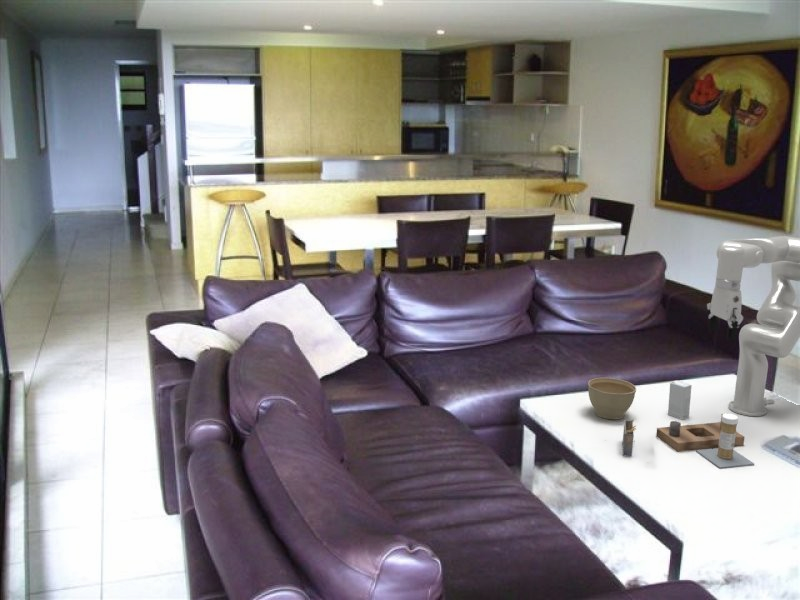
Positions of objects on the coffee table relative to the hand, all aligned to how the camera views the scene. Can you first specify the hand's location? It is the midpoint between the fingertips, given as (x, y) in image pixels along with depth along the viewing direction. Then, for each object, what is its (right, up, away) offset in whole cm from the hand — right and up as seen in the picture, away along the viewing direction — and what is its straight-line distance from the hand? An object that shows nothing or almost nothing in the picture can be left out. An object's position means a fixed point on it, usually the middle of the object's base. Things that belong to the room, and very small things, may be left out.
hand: (721, 334), depth 260 cm
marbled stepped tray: (-34, -36, -10) cm, 51 cm away
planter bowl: (-33, -29, +16) cm, 46 cm away
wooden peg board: (-9, -34, -4) cm, 36 cm away
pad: (-6, -37, -16) cm, 41 cm away
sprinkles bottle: (-6, -37, -16) cm, 41 cm away
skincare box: (-9, -29, +16) cm, 35 cm away
